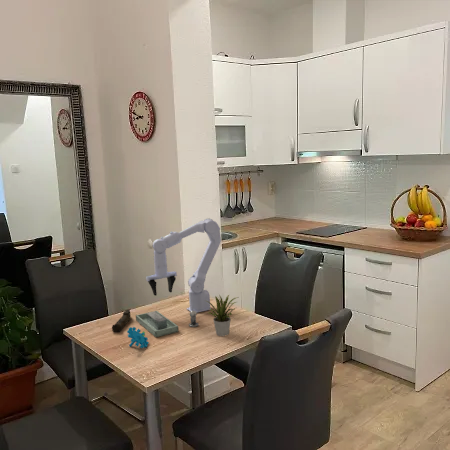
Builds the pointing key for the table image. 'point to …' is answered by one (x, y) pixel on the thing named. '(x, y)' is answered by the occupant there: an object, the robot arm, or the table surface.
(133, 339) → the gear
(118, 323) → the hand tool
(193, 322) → the stud post
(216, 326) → the house plant
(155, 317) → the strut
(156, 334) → the bin tray
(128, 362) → the table surface
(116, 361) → the table surface
